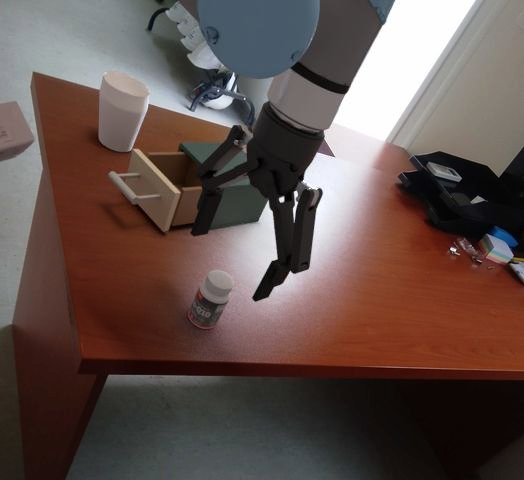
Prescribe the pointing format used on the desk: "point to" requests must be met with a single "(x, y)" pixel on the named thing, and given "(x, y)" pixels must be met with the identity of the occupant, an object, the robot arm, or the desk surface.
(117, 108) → the cup
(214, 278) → the pill bottle
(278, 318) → the desk surface
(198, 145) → the cabinet
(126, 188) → the drawer
